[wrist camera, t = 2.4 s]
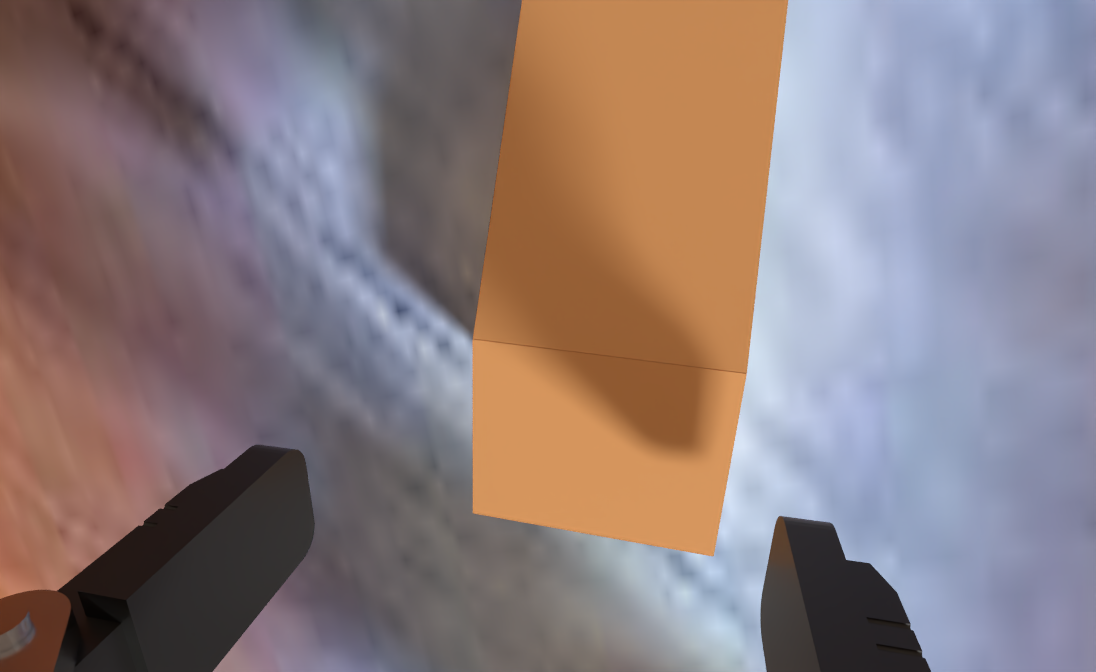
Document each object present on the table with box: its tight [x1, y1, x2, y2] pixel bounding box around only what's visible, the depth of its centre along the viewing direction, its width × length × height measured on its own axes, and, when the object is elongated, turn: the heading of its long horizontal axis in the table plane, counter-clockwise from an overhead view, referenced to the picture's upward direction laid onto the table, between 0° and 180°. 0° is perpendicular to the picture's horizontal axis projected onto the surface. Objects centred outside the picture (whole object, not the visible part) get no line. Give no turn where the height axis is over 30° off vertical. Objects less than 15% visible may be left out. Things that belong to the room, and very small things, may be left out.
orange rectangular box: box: [473, 0, 788, 556], centre depth 13 cm, size 11×5×6 cm, turn 178°
